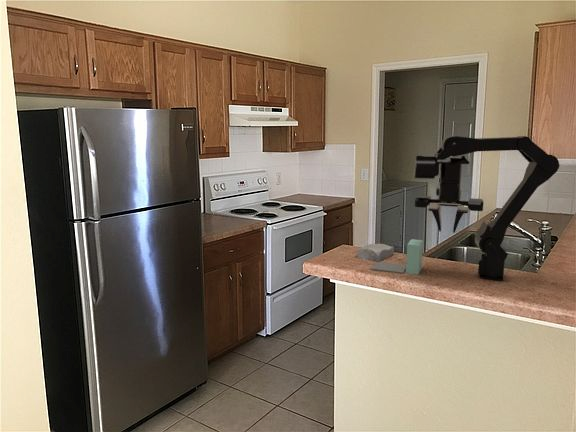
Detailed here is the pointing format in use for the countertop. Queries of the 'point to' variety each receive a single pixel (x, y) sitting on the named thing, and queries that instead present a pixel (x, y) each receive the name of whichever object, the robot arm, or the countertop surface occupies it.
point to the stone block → (375, 252)
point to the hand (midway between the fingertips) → (447, 231)
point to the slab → (414, 256)
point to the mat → (389, 267)
